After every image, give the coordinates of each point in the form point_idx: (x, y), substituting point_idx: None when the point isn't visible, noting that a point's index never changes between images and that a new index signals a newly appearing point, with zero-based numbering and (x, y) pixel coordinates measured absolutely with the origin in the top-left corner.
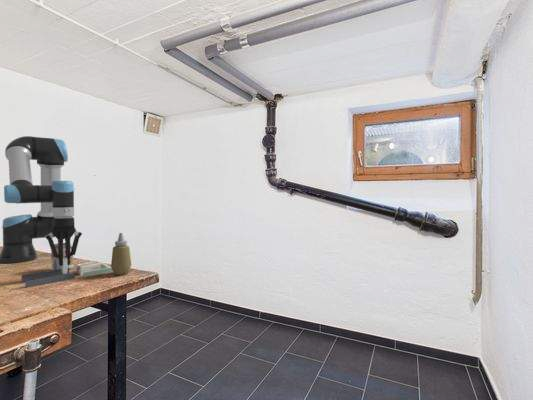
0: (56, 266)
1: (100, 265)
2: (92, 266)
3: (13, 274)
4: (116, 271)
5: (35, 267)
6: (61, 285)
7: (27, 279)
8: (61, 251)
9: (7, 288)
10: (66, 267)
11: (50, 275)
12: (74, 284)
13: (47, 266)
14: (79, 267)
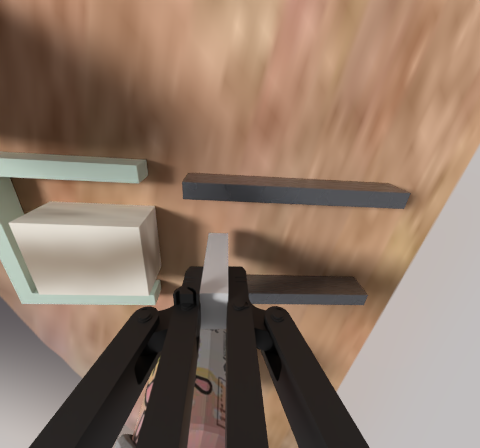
0: (224, 345)
1: (22, 216)
2: (71, 220)
3: (326, 373)
4: None
5: None
6: (277, 80)
7: (339, 281)
8: (240, 348)
9: (422, 228)
10: (211, 249)
11: (262, 279)
12: (220, 31)
13: None
14: (144, 245)
